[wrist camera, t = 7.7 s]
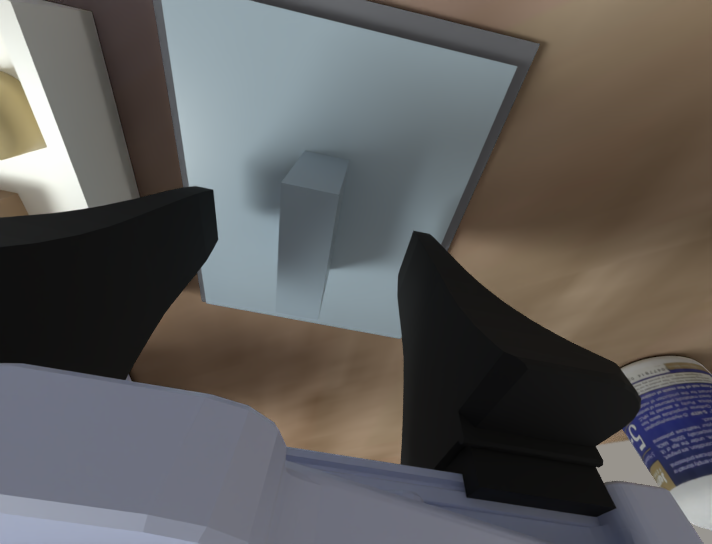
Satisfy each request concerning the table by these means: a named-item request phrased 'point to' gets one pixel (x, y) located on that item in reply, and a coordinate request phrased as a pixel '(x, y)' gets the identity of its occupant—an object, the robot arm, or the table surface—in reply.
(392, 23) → the mat
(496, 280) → the table surface
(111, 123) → the storage box
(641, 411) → the pill bottle
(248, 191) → the lid
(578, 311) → the table surface
